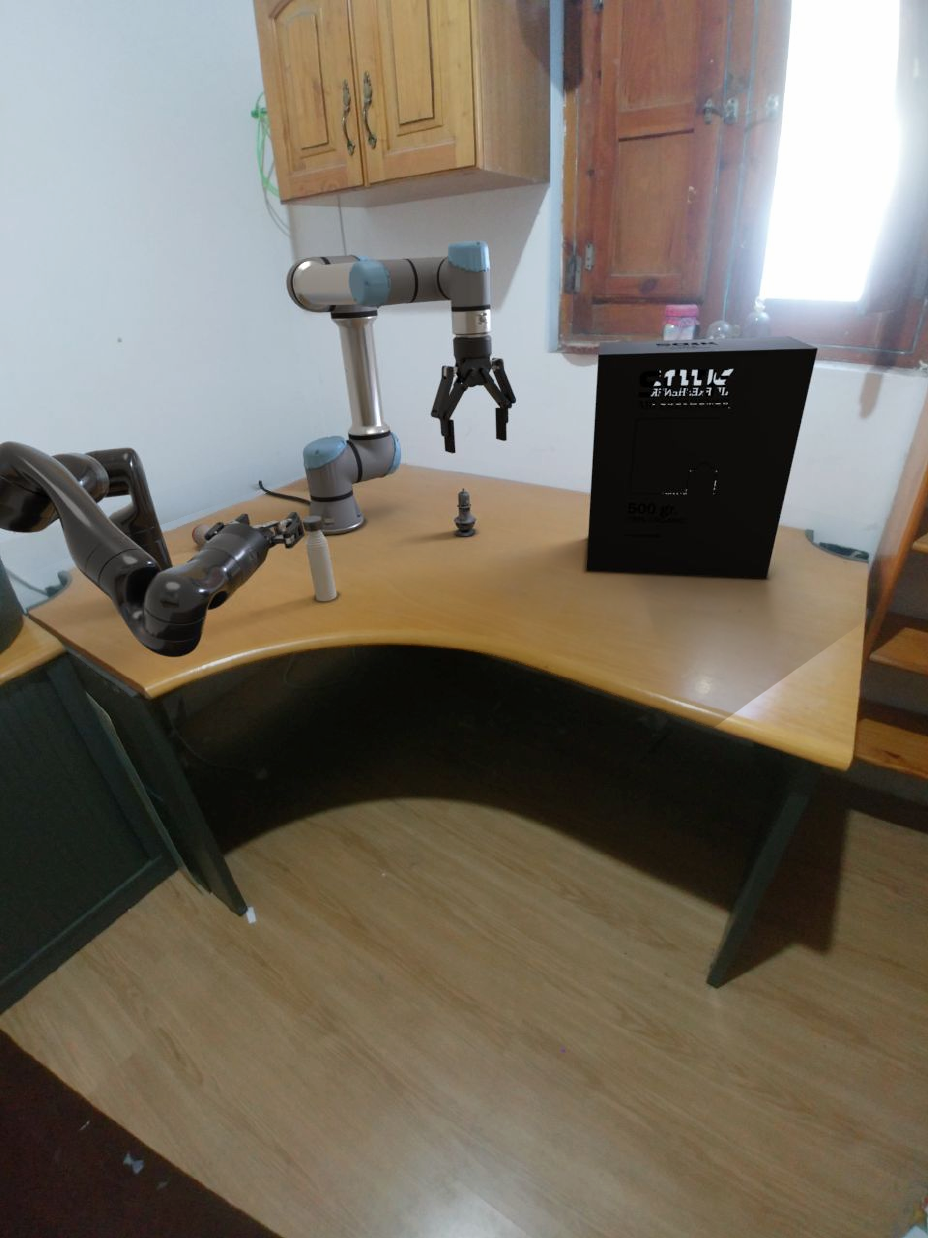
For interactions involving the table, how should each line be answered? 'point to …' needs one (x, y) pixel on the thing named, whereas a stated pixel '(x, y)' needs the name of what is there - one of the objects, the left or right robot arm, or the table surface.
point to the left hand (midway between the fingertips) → (271, 518)
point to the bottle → (320, 566)
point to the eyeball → (200, 534)
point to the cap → (312, 523)
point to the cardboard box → (694, 454)
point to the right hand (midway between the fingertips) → (476, 445)
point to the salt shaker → (464, 515)
